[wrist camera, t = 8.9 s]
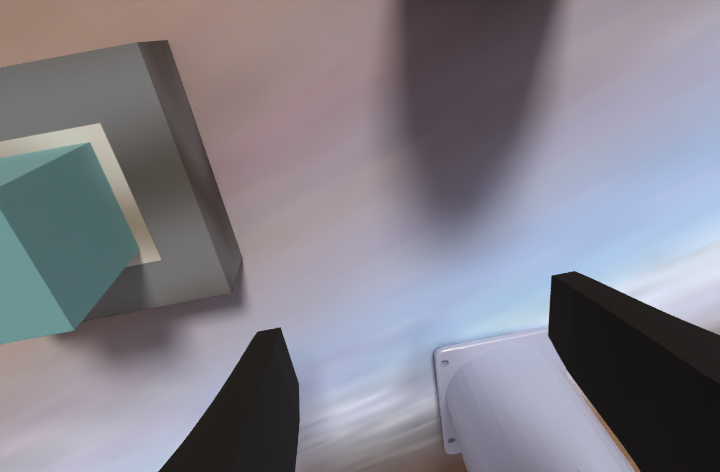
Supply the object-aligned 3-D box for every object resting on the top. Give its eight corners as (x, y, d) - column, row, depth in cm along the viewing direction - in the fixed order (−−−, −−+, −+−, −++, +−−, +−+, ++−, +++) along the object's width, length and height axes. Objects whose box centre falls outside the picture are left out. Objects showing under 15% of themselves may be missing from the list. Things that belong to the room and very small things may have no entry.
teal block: (139, 249, 17) (74, 330, 12) (31, 269, 16) (-75, 358, 12) (89, 141, 15) (-11, 191, 10) (-35, 163, 14) (-191, 224, 10)
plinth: (242, 258, 21) (231, 293, 18) (44, 296, 20) (2, 337, 18) (167, 40, 16) (136, 42, 13) (-89, 87, 16) (-172, 99, 13)
